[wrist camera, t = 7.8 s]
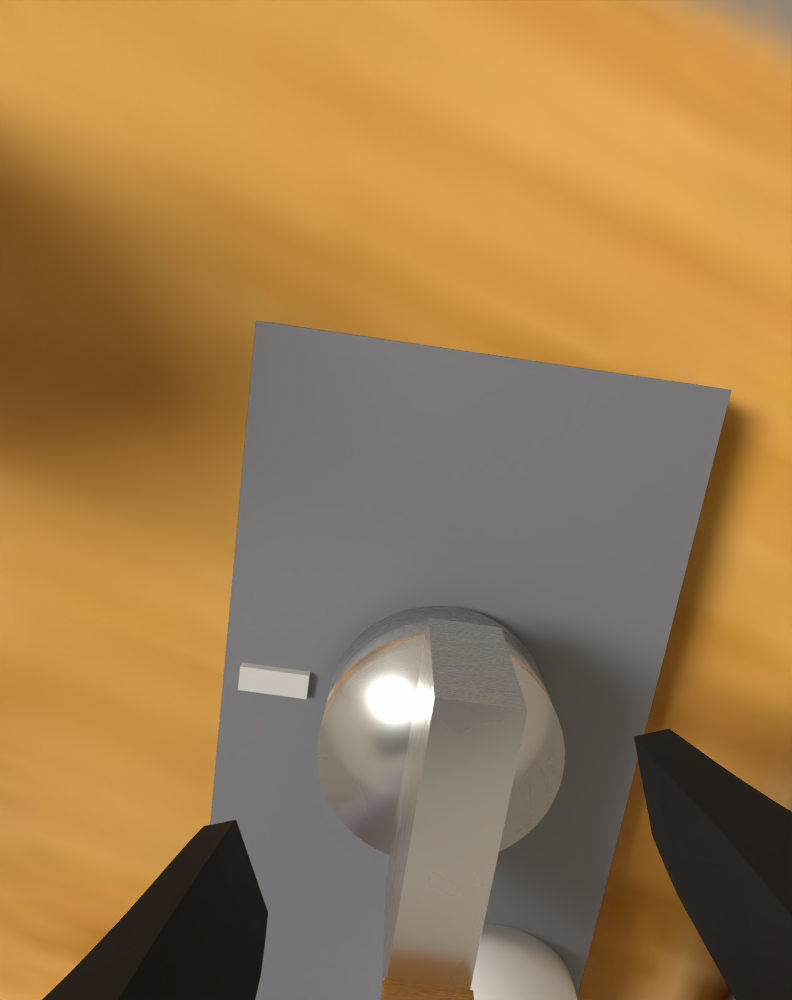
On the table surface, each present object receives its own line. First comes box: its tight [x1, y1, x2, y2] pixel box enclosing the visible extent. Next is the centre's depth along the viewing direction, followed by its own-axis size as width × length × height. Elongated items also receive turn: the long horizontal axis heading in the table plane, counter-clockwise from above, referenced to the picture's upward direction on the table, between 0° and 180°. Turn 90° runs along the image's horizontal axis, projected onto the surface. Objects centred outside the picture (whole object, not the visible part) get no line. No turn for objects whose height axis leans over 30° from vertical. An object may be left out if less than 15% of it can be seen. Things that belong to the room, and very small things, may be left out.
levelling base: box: [210, 321, 731, 1000], centre depth 16 cm, size 20×10×3 cm, turn 172°
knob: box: [317, 606, 565, 1000], centre depth 13 cm, size 6×5×6 cm
